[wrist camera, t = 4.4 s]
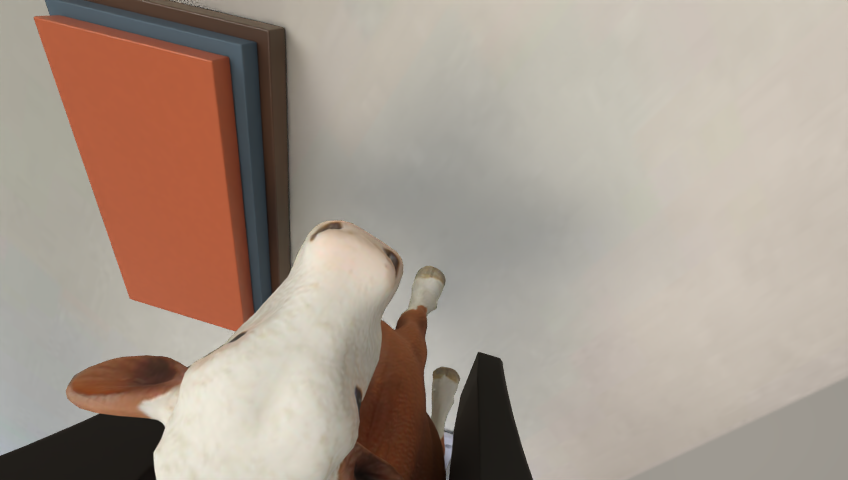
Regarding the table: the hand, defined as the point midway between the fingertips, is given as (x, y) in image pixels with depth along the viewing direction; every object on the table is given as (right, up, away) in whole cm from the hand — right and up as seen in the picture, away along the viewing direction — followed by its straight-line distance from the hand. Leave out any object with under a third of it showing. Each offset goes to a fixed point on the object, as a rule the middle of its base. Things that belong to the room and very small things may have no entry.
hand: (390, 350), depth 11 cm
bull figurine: (0, +1, +2) cm, 2 cm away
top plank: (-11, +5, +7) cm, 14 cm away
